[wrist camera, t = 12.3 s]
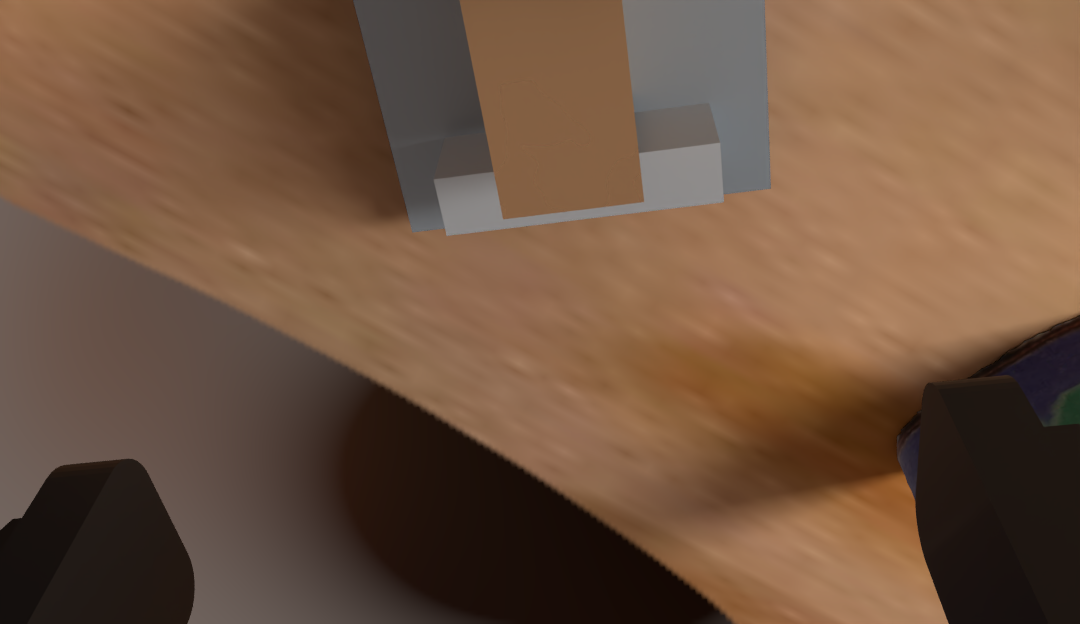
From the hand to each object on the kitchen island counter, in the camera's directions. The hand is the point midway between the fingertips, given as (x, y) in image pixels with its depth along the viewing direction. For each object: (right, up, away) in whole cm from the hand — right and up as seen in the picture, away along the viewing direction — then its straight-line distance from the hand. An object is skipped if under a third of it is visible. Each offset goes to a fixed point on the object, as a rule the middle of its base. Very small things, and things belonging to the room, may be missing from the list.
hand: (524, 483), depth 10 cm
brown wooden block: (+1, +9, +14) cm, 17 cm away
